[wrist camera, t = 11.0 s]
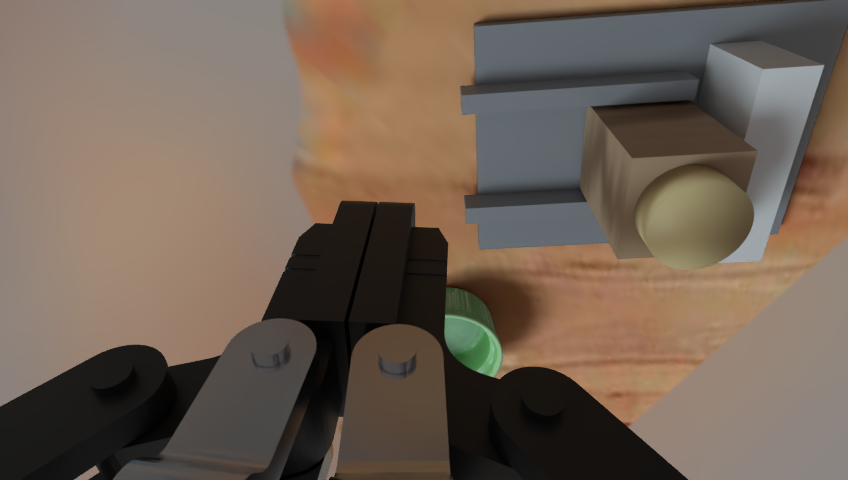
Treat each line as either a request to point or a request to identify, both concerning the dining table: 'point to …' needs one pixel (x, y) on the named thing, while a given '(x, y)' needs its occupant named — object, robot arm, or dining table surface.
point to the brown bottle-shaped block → (667, 182)
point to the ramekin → (471, 332)
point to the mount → (640, 83)
